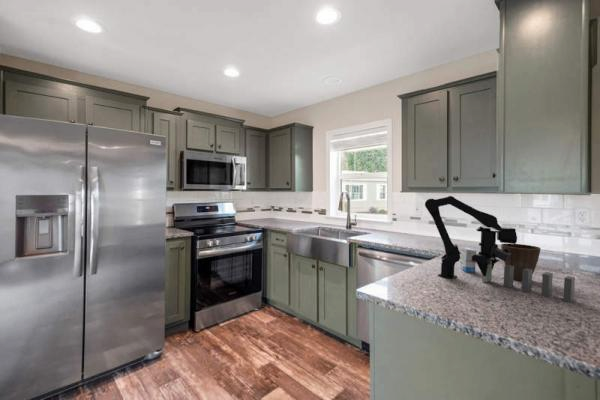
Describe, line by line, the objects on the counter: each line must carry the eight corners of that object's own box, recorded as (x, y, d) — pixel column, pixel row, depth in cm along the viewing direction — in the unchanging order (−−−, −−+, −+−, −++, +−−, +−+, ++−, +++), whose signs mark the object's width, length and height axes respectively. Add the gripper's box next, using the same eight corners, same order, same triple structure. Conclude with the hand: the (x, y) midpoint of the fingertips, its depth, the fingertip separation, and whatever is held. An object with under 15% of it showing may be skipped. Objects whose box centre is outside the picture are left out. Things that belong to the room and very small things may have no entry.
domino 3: (548, 297, 111) (549, 274, 111) (541, 296, 113) (542, 273, 112) (551, 295, 114) (552, 273, 114) (545, 293, 115) (546, 271, 115)
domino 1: (508, 288, 121) (509, 267, 121) (503, 286, 123) (504, 266, 123) (513, 286, 124) (514, 265, 124) (507, 285, 126) (508, 265, 126)
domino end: (570, 303, 106) (571, 279, 105) (563, 301, 107) (564, 277, 107) (573, 300, 109) (574, 277, 108) (566, 298, 110) (567, 275, 110)
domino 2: (527, 292, 116) (528, 271, 116) (521, 291, 118) (522, 269, 118) (531, 290, 119) (532, 269, 119) (525, 289, 121) (526, 268, 121)
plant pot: (505, 281, 131) (507, 247, 131) (495, 273, 145) (497, 242, 145) (545, 285, 126) (546, 250, 126) (531, 276, 140) (532, 244, 140)
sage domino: (482, 280, 130) (482, 261, 130) (486, 279, 133) (487, 260, 133) (486, 282, 128) (487, 262, 128) (491, 280, 131) (492, 261, 131)
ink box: (476, 273, 145) (476, 250, 145) (465, 272, 146) (466, 249, 146) (469, 268, 153) (470, 247, 153) (459, 268, 154) (460, 246, 154)
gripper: (500, 246, 118) (498, 283, 119) (516, 242, 129) (515, 276, 130) (471, 242, 127) (470, 276, 128) (489, 239, 138) (487, 270, 139)
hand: (486, 275), depth 131 cm, fingers closed on sage domino, 5 cm apart
